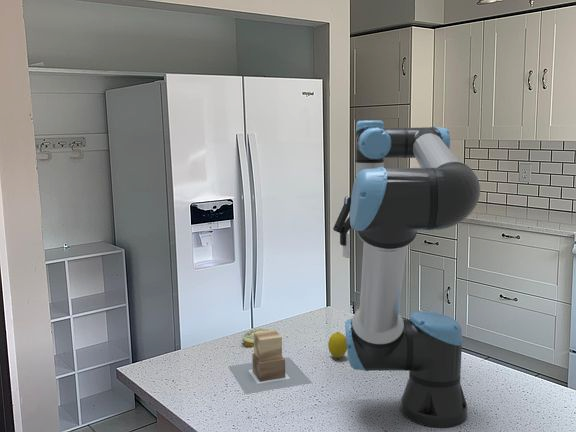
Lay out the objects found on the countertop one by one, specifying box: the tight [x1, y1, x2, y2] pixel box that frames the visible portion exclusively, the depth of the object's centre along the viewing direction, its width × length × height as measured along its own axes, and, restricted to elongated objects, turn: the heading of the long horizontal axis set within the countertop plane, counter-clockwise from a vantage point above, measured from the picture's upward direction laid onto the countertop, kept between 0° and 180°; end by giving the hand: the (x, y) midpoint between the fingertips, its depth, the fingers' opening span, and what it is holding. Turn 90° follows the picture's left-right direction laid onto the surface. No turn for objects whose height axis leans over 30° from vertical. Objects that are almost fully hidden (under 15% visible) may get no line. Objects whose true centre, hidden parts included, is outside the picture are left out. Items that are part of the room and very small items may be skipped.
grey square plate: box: [227, 356, 313, 395], centre depth 154 cm, size 18×18×1 cm
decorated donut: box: [241, 328, 269, 349], centre depth 179 cm, size 10×11×4 cm
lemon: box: [328, 331, 347, 359], centre depth 167 cm, size 6×6×8 cm
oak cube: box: [253, 329, 283, 362], centre depth 153 cm, size 6×6×6 cm
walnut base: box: [251, 352, 285, 382], centre depth 154 cm, size 7×7×5 cm
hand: (368, 255), depth 158 cm, fingers open, 13 cm apart
